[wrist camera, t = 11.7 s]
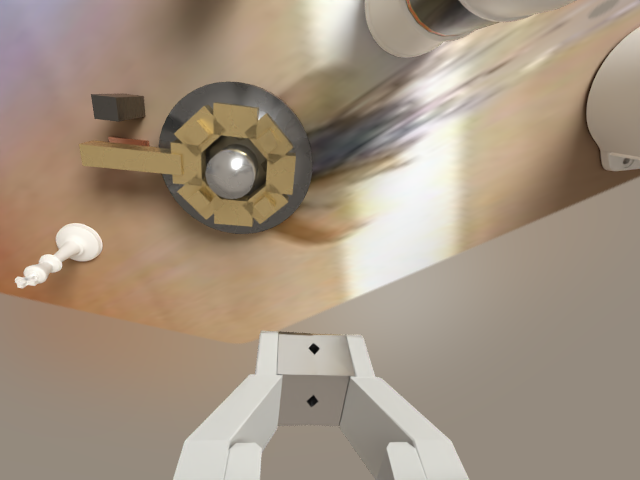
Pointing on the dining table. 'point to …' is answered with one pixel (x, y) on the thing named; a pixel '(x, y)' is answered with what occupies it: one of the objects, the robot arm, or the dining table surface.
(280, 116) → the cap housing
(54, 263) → the chess piece
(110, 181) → the dining table surface
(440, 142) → the dining table surface
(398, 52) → the vodka
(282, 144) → the gold ring with handle
